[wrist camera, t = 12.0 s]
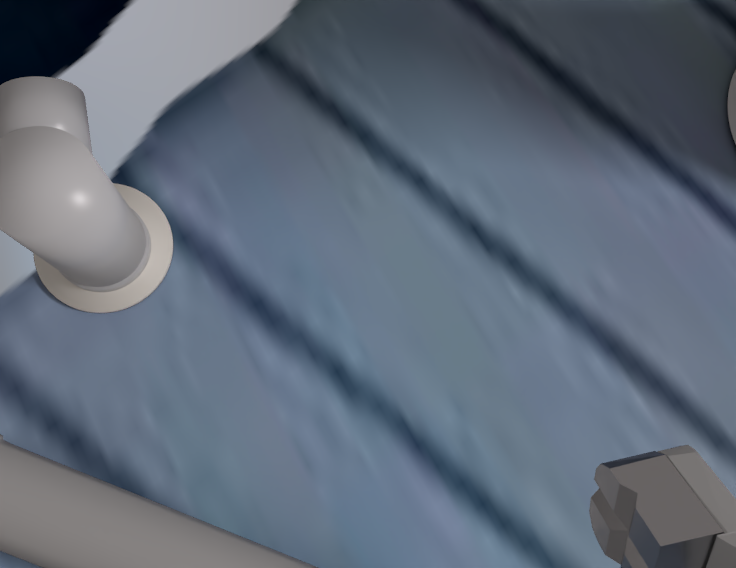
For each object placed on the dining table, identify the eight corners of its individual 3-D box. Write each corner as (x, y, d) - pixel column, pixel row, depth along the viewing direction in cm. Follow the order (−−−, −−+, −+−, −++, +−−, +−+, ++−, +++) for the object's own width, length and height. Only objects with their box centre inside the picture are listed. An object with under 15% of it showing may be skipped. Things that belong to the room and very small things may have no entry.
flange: (137, 163, 42) (136, 161, 42) (196, 274, 41) (195, 273, 41) (12, 220, 41) (11, 218, 41) (70, 337, 40) (68, 336, 40)
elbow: (157, 283, 41) (108, 229, 30) (61, 299, 40) (-25, 250, 29) (139, 162, 42) (86, 69, 31) (46, 175, 41) (-40, 85, 31)
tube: (434, 598, 35) (-19, 415, 35) (405, 714, 32) (-90, 517, 32) (406, 607, 40) (4, 445, 39) (378, 710, 37) (-56, 537, 36)
